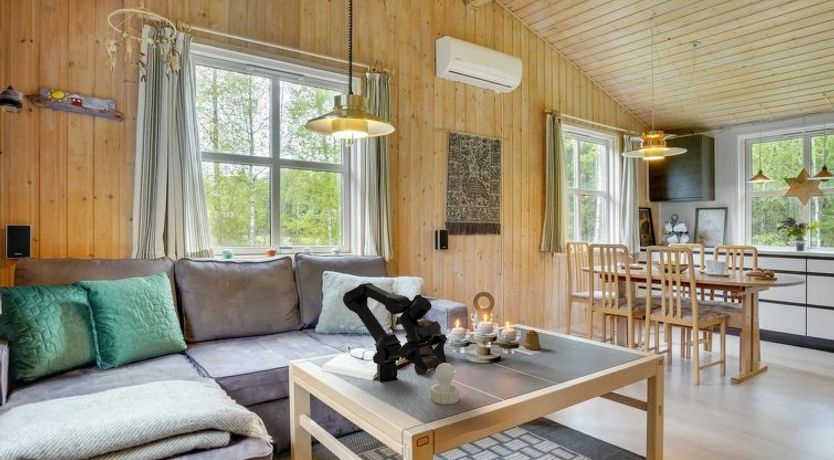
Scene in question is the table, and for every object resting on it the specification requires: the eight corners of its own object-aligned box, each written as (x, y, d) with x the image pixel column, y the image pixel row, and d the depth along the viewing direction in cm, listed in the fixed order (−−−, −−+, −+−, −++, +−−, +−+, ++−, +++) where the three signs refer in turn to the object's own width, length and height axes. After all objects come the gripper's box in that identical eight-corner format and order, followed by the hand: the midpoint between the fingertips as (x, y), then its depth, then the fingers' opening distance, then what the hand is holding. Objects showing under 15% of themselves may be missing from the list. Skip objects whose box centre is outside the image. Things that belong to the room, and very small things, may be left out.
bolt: (443, 370, 192) (421, 378, 180) (434, 361, 194) (411, 369, 182) (449, 358, 190) (427, 366, 178) (440, 350, 193) (418, 357, 181)
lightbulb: (437, 392, 159) (437, 359, 159) (455, 394, 158) (456, 361, 157) (433, 399, 153) (433, 365, 153) (452, 401, 152) (452, 367, 151)
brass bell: (528, 345, 223) (543, 348, 218) (520, 348, 217) (535, 351, 213) (528, 328, 223) (543, 330, 218) (520, 330, 217) (535, 333, 212)
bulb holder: (438, 406, 149) (438, 395, 149) (425, 396, 158) (425, 385, 157) (464, 402, 153) (464, 391, 153) (450, 392, 161) (450, 382, 161)
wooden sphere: (423, 347, 217) (423, 314, 217) (448, 354, 207) (449, 319, 206) (399, 354, 206) (399, 319, 206) (424, 361, 196) (425, 324, 196)
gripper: (405, 317, 154) (430, 359, 147) (443, 310, 168) (468, 348, 160) (388, 337, 160) (411, 379, 153) (426, 328, 173) (449, 366, 166)
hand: (436, 367), depth 158 cm, fingers open, 9 cm apart
